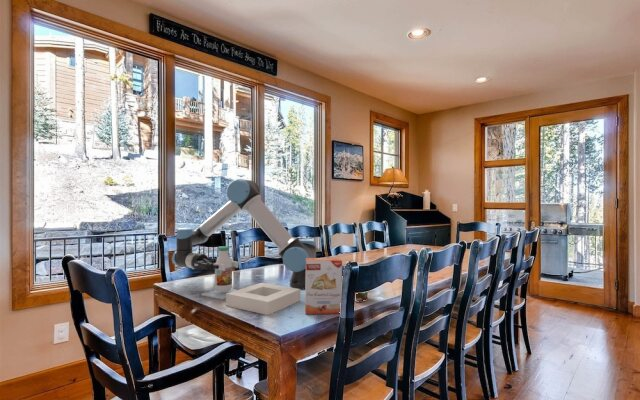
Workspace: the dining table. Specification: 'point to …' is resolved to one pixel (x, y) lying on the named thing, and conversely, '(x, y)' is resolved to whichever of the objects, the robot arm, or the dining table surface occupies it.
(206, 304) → the dining table surface
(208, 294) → the mat
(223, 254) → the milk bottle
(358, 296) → the food container
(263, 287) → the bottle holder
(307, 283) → the cracker box
